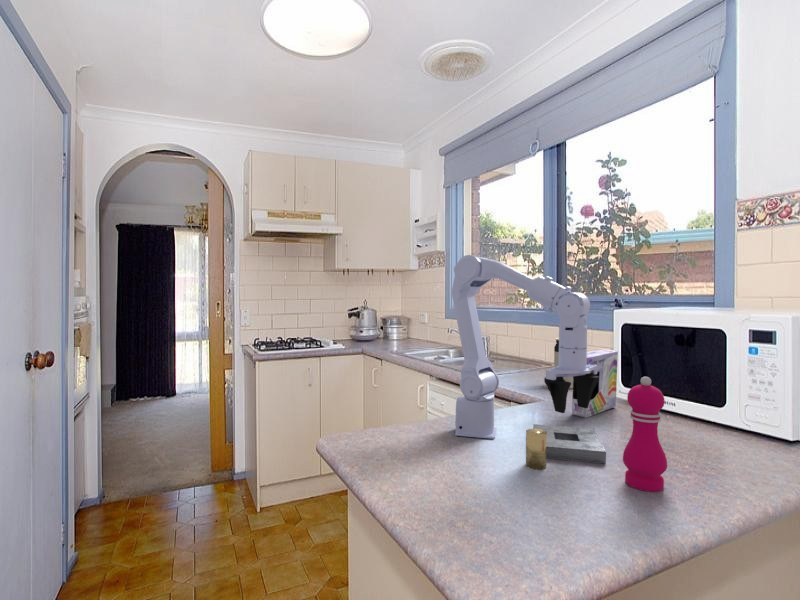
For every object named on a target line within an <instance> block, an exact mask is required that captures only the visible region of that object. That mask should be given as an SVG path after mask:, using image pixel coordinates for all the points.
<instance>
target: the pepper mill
mask: <svg viewBox="0 0 800 600" xmlns="http://www.w3.org/2000/svg"><path fill="white" fill-rule="evenodd" d="M627 402H628V404H629V406H630V407H631V409H630V410H629V412H630V415H629V418H630V419H632V433H631V435H630V438H629V439H628V442H627V443H626V444H625V445H626V446H625V447H624V450H623V454H622V462H623V464H624V465H625V467H626V468H627V470H626V471H625V472H624V473H625V475H624V477H625V478H624V480H625V483H626V484H627V485H628V486H630V487H632V488H634V489H636V490H639V491H644V492H660V491H662V490H663V489H664V486H665V478H664V477H663V476H662V474H664V473H666V470H667V468H668V460H667V456H666V453H665V450H664V449H663V447H662V445H661V442H660V440H659V434H658V427H659V422H661V420H662V418H661V416H662V414H661V412H660V411H661V410H662V409H663V408H664V406H665V396H664V394H663V392H662V390H661V389H660V388H657V387H656V386H654V385H652V379H651V377H649V376H643V377H641V378H640V384H637V385H636V384H635V386H632V387H631V388H630V389H629V390H628V393H627Z"/></svg>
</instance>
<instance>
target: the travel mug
mask: <svg viewBox="0 0 800 600" xmlns="http://www.w3.org/2000/svg"><path fill="white" fill-rule="evenodd" d="M555 342H556V344H555V345H554V350H553V351H554V354H553V358H554V359H553V368H555V367H557V366H558V365H559V337H555ZM563 380H565V381H567V382H571V385H570V387H569V390H573V377H566V378H563Z"/></svg>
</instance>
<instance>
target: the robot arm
mask: <svg viewBox="0 0 800 600" xmlns="http://www.w3.org/2000/svg"><path fill="white" fill-rule="evenodd" d="M453 272H454V279H453V283H452V288H451V298H452V302H453V308H454V312H455V317H456V322H457V328H458V333H459V337H460V338H459V339H460V344H461V348H462V349H461V350H462V354H463V360H464V362H463V364H462V366H461V367H460V382H459V389H460V391H461V394H462V395H463V396H457V397H456V403H455V434H454V435H455V436H457V437H458V436H459V437H466V438H467V437H469V438H478V439H479V438H480V439H490V440H493V439H496V434H497V433H496V432H497V427H495V391H497V390H498V388H499V385H500V378H499V376H498V374H497V373H496V372H495V370H494V365H493V363H492V362H491V360H490V359H489V358H488V357H487V353H486V349H485V345H484V339H483V335H482V329H481V324H480V318H479V315H478V309H477V303H476V299H475V295H476V294H477V293H478V292H479V290H480V289H481V288H482V287H483V286H484V285H486V284H487V283H488V282H490V281H491V280H493V279H499V280H501V281H503V282H506V283H508V284H511V285H512V286H514V287H516V288H519V289H521V290H524V291H526V293H527V296H528V298H529V299H530V300H531V301H534V302H536V303H538V304H539V305H542V306H544V307H546V308H548V309H549V310H551V311H553V312H556V314H557V315H558V316H559V325H558V338H559V365H558V366H557V367H555V368H554V367H552V368H549V369H545V376H544V384H545V385H546V387H547V389H548V391H549V394H550V398H551V400H552V403H553V407H554V411H555V412H557V413H561V414H564V413H566V408H567V398H568V393H569V390H570V389H569V387H570V385H571V382H567V381H565V380H563V378H566V377H573V378H574V381H575V384H576V390H577V403H578V407H582V408H588V406H589V402H590V399H591V396H592V393H593V390H594V388H595V386H596V385H597V383H598V382H599V376H595V375H594V374H597V366H596V365H590V364H589V365H586V364H587V352H588V314H589V312H590V311H591V301H590V299H589V298H588V296H587V295H586V294H583V292H581V291H574V292H573V291H572V287H571V286H568V285H567V286H563V285H561V284H560V283H557V282H555V281H553V278H552V277H551V276H548V275H547V276H537V277H536V278H533V277H531V276H530V275H527V274H525V273H523V272H521V271H519V270H518V269H515V268H513V267H512V266H510V265H508V264H506V263H504V262H501V261H499V260H496V259H493V258H492V259H491V258H490V257H487V256H476V255H471V254H467V255H463V256H462V257H460V259H459V260H458V261H457V263H456V264H455V265H454V267H453Z"/></svg>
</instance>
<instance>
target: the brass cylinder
mask: <svg viewBox="0 0 800 600" xmlns="http://www.w3.org/2000/svg"><path fill="white" fill-rule="evenodd" d="M546 450H547V432H546V431H544V430H541V429H533V428H527V429H526V431H525V466H526V467H527V468H528V467H529V469H532V470H536V469H537V470H538V471H542V470H545V469H546V468H547V458H546Z"/></svg>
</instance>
